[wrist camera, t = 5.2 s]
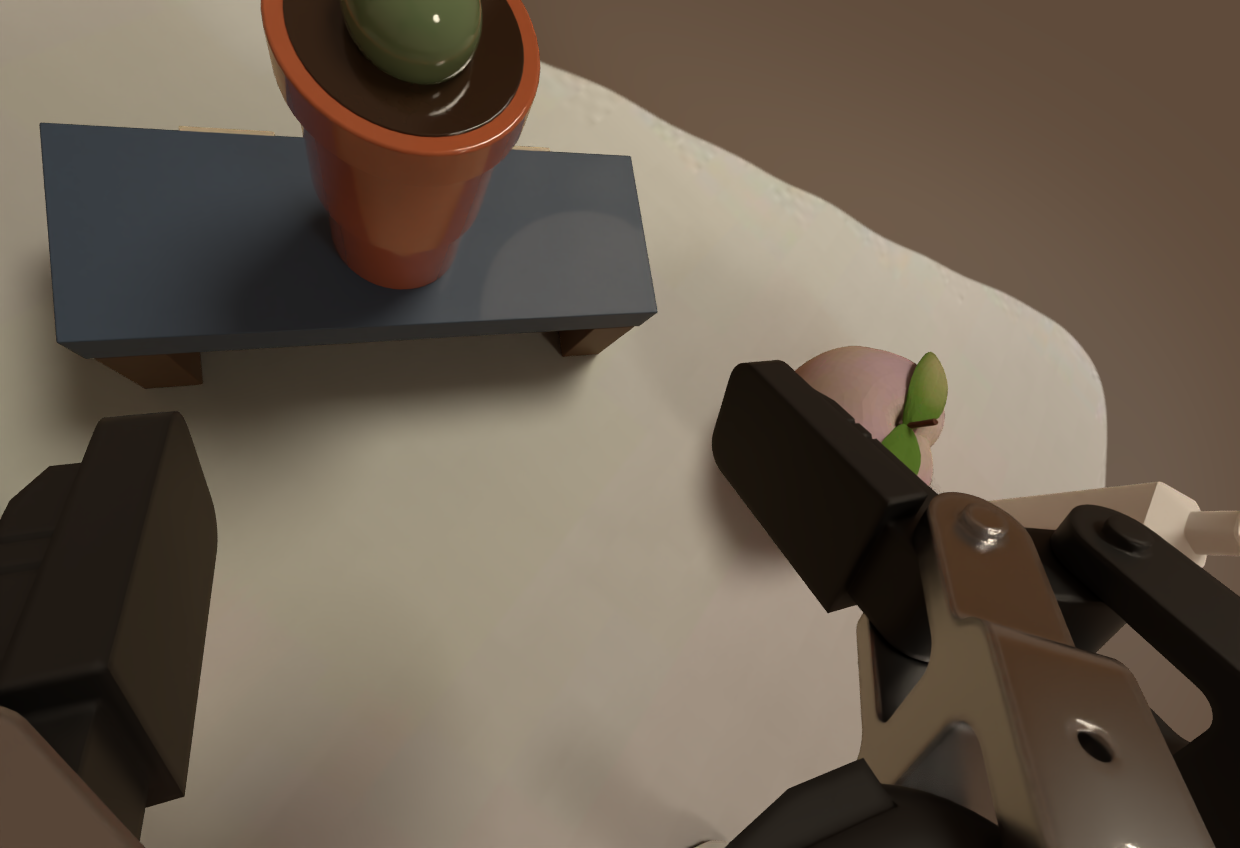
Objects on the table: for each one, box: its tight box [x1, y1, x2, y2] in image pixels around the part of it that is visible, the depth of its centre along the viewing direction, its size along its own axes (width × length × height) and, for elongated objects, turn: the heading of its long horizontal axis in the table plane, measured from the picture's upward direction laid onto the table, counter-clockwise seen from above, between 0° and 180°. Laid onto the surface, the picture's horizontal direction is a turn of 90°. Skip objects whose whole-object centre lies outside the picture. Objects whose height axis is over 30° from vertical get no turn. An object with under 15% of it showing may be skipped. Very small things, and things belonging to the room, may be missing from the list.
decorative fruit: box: [795, 346, 948, 486], centre depth 31 cm, size 9×8×10 cm
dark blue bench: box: [40, 123, 657, 389], centre depth 26 cm, size 20×7×7 cm, turn 101°
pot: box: [261, 0, 540, 289], centre depth 17 cm, size 6×6×12 cm
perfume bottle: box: [988, 482, 1240, 568], centre depth 32 cm, size 5×4×15 cm
